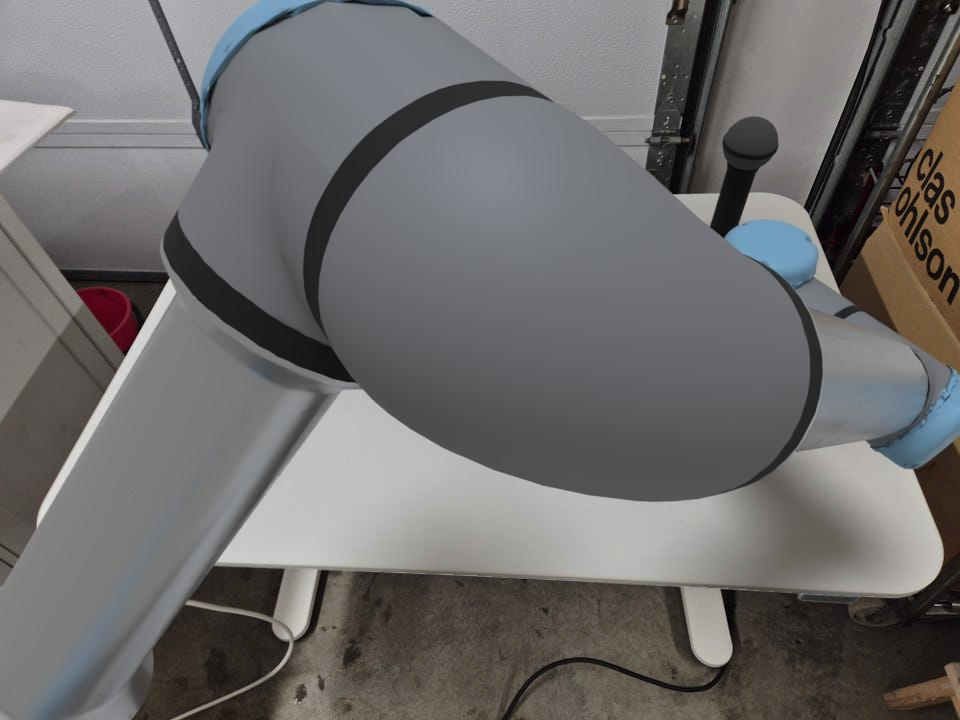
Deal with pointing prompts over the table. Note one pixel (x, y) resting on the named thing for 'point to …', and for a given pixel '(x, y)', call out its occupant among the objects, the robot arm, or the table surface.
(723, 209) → the microphone
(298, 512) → the table surface
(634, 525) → the table surface
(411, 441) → the table surface
